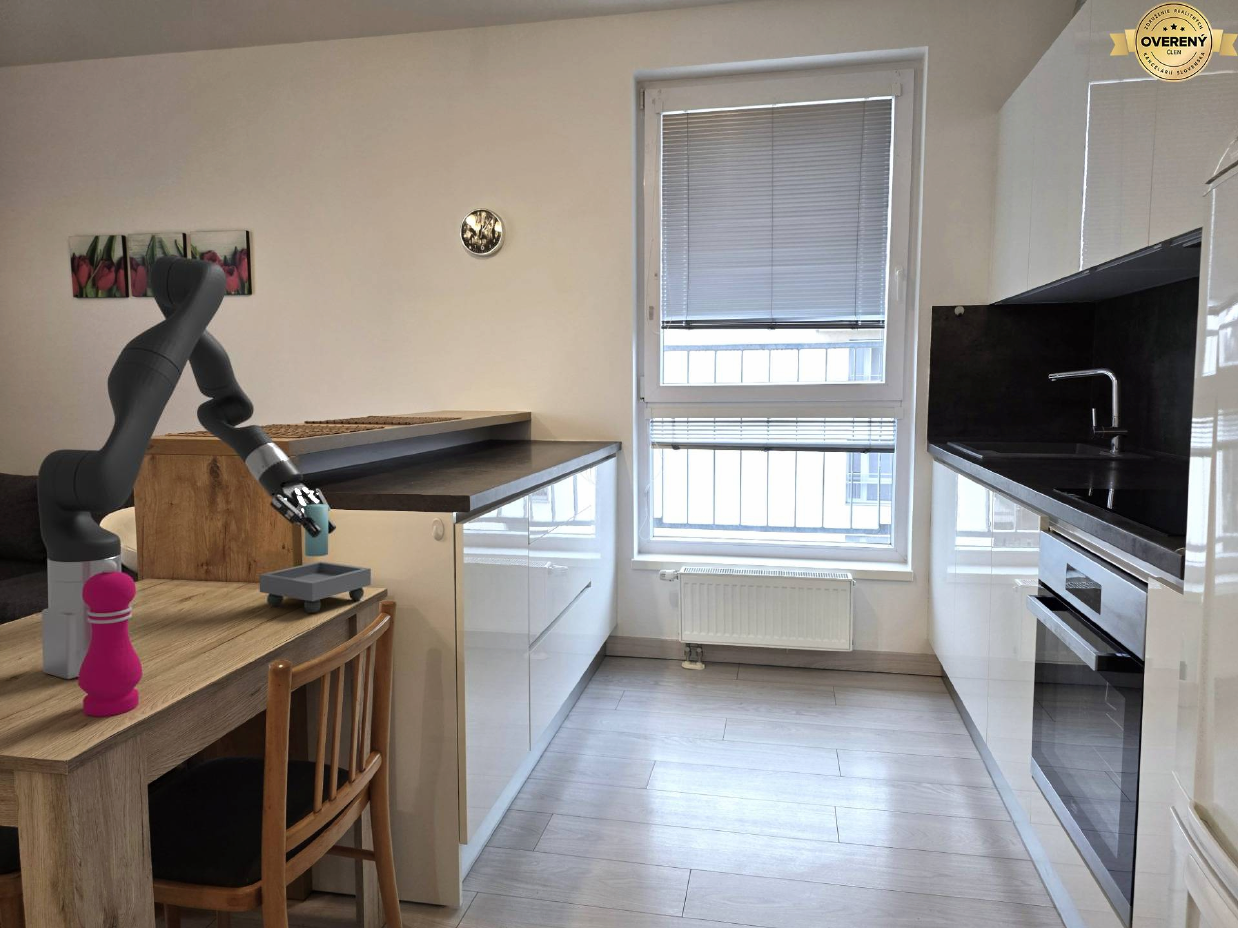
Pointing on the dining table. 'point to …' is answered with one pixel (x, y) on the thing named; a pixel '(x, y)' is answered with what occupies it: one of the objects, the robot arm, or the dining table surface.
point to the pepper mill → (109, 645)
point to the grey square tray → (314, 583)
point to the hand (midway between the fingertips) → (325, 532)
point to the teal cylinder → (320, 543)
